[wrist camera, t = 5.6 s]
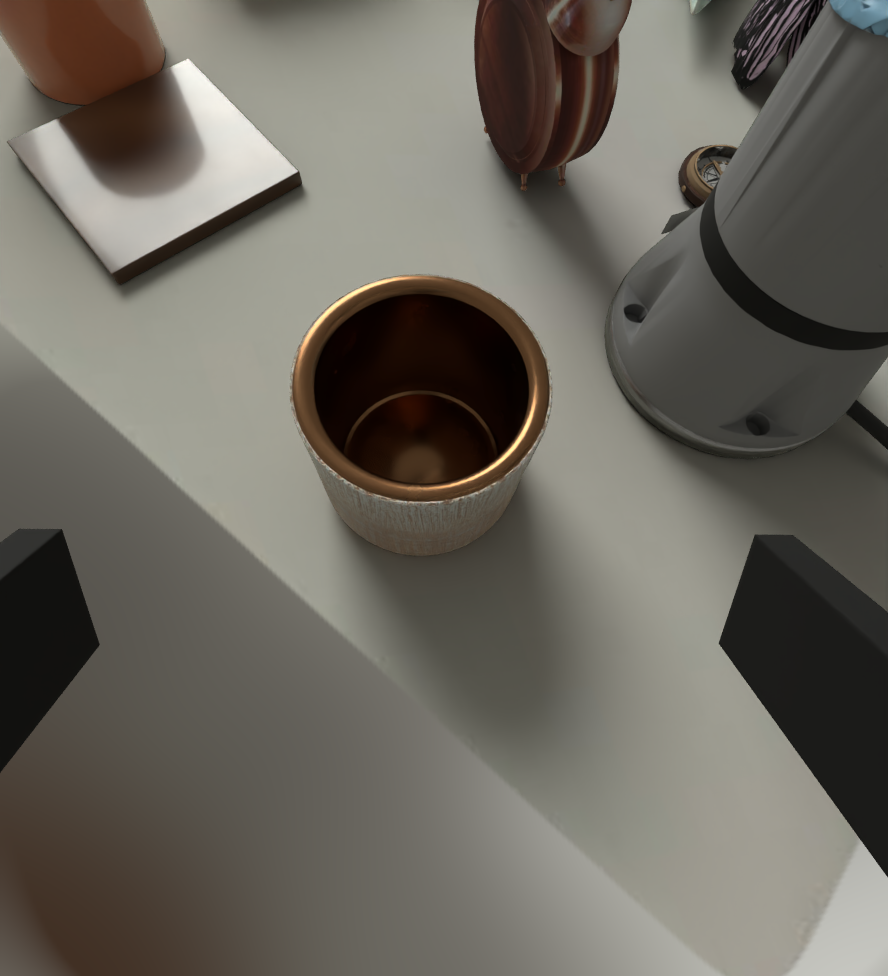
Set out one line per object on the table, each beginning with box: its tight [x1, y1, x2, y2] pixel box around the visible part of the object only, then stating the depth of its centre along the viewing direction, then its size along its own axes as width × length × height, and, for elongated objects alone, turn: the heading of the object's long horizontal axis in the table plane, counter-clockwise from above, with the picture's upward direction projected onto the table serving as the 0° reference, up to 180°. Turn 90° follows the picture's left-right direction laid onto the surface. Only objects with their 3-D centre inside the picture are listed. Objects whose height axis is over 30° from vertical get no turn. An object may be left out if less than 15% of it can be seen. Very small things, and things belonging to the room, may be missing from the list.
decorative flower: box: [731, 0, 828, 89], centre depth 39 cm, size 14×12×15 cm
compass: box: [679, 145, 738, 207], centre depth 35 cm, size 8×8×7 cm
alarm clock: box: [474, 0, 632, 191], centre depth 32 cm, size 11×5×15 cm, turn 24°
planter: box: [290, 274, 552, 556], centre depth 26 cm, size 11×11×10 cm
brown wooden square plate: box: [7, 59, 302, 285], centre depth 36 cm, size 14×14×1 cm
